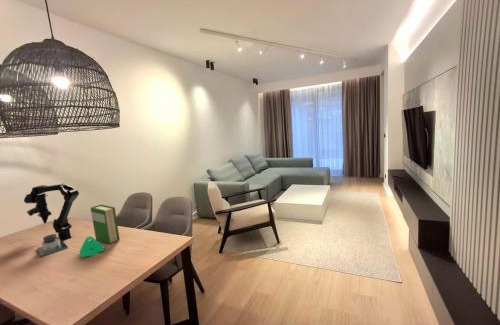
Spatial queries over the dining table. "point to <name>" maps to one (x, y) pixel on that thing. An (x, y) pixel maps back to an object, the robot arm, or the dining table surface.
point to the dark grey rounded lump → (50, 238)
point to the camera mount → (90, 247)
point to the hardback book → (105, 223)
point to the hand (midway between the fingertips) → (45, 223)
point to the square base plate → (51, 247)
